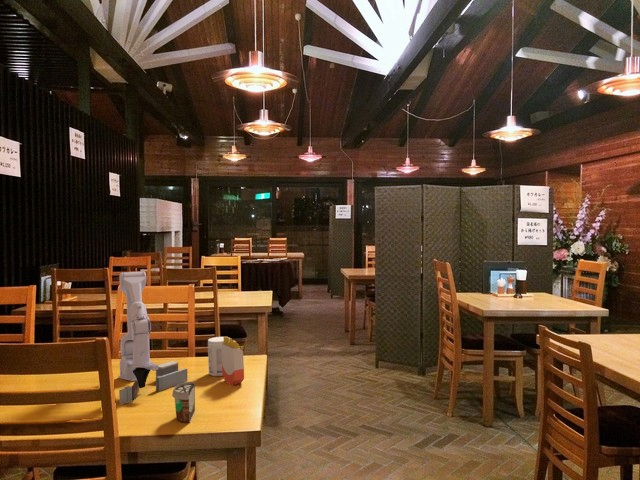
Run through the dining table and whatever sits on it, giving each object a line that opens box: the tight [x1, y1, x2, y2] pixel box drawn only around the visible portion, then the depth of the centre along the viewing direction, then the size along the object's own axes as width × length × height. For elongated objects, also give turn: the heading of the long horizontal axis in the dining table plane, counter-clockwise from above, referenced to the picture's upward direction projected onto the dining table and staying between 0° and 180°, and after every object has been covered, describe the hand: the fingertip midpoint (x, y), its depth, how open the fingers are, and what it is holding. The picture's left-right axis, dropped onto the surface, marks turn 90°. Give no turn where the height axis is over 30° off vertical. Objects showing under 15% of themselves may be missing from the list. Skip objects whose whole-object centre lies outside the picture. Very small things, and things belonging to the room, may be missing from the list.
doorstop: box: [155, 360, 179, 378], centre depth 196 cm, size 4×8×6 cm, turn 148°
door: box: [130, 379, 141, 402], centre depth 177 cm, size 1×11×5 cm, turn 11°
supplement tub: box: [207, 336, 231, 377], centre depth 202 cm, size 10×10×15 cm
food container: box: [171, 380, 196, 424], centre depth 155 cm, size 12×6×10 cm, turn 5°
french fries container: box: [222, 335, 245, 386], centre depth 190 cm, size 5×11×18 cm, turn 37°
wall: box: [118, 367, 188, 406], centre depth 180 cm, size 2×30×5 cm, turn 148°
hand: (142, 387), depth 179 cm, fingers closed
